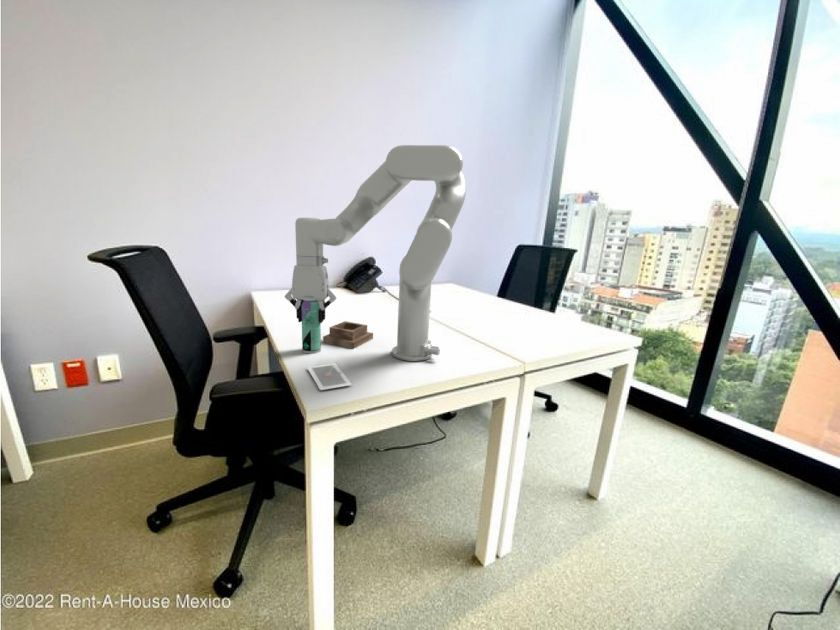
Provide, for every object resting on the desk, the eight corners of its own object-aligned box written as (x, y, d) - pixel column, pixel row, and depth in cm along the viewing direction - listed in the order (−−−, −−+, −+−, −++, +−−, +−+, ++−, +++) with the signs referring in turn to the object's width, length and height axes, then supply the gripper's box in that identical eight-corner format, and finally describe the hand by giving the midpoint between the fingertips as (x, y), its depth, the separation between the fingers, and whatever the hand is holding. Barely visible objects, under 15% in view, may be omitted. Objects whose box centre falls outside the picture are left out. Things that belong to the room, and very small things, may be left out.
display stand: (373, 338, 130) (373, 324, 128) (354, 348, 119) (354, 333, 118) (343, 332, 134) (343, 319, 133) (323, 342, 123) (322, 327, 122)
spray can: (315, 346, 119) (314, 284, 114) (324, 351, 116) (323, 287, 111) (299, 349, 115) (297, 286, 110) (308, 354, 112) (306, 289, 107)
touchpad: (320, 394, 89) (320, 385, 89) (306, 370, 102) (306, 363, 101) (352, 388, 93) (352, 380, 92) (335, 366, 106) (335, 359, 105)
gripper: (341, 261, 113) (341, 319, 117) (284, 258, 112) (286, 316, 116) (337, 264, 105) (337, 326, 110) (275, 261, 105) (278, 323, 109)
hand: (311, 320), depth 113 cm, fingers closed on spray can, 5 cm apart
